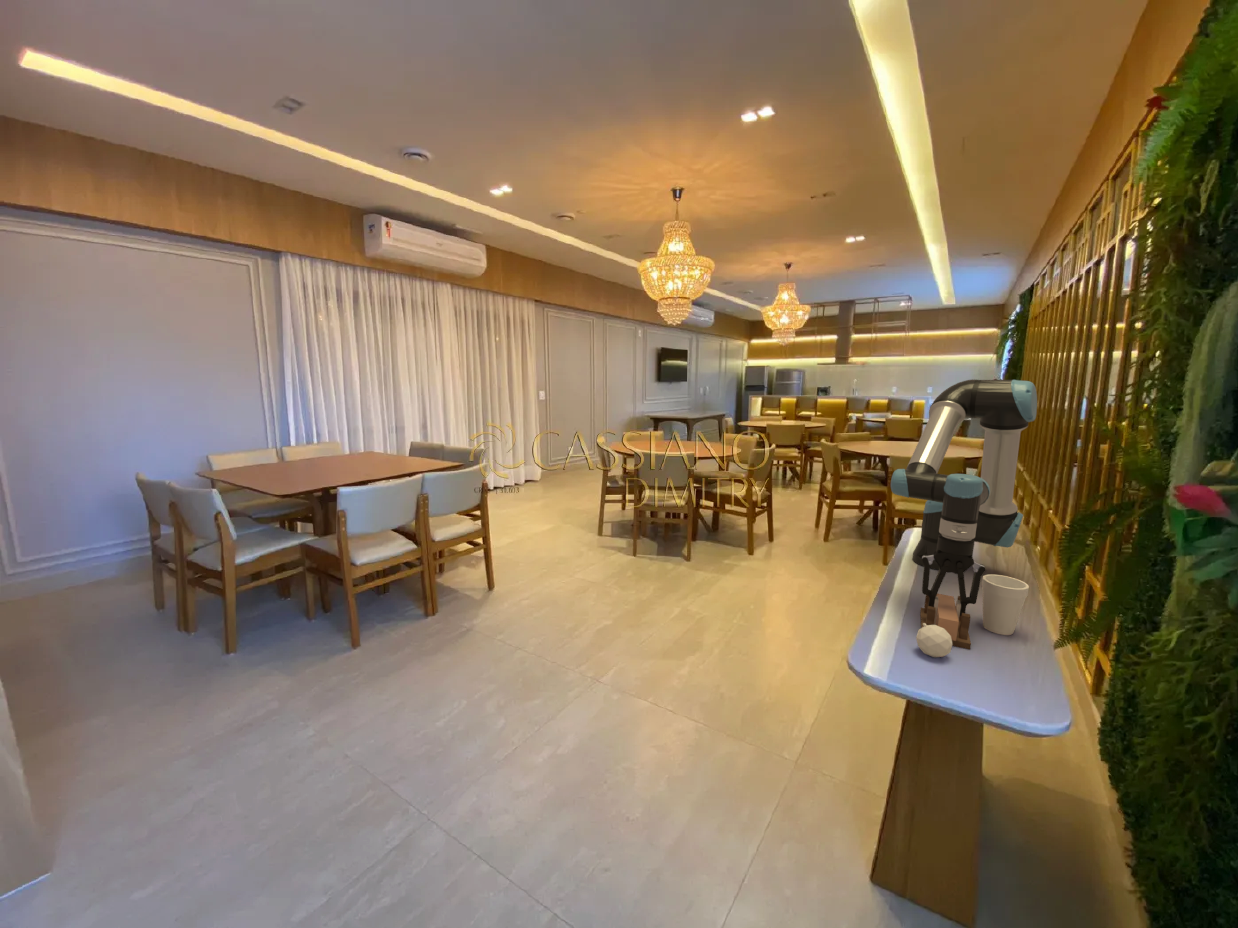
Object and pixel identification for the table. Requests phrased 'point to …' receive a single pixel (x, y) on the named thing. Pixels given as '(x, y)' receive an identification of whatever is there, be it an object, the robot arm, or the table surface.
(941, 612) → the clay bar
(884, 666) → the table surface
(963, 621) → the rack
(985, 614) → the foam cup
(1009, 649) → the table surface
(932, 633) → the cream rounded egg shape
